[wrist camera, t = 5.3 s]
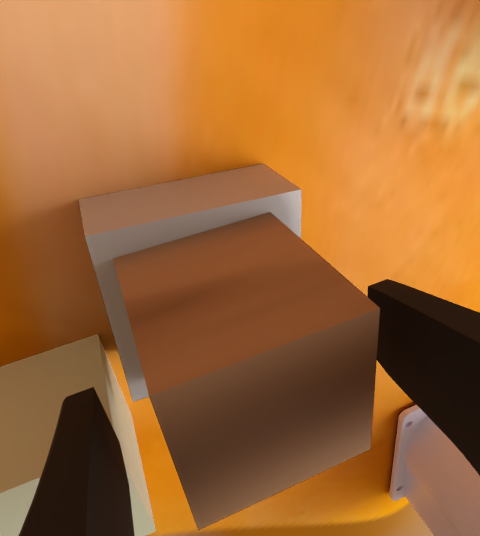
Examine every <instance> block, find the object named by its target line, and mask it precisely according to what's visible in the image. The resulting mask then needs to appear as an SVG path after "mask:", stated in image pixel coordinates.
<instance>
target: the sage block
mask: <svg viewBox="0 0 480 536" xmlns="http://www.w3.org/2000/svg"><path fill="white" fill-rule="evenodd" d="M92 387H94V389H95V391H96V393H97V395H98V397H99V399H100V401H101V404H102V406H103V408H104V410H105V412H106V414H107V416H108V418H109V421H110V423H111V425H112V427H113V429H114V431H115V433H116V436H117V438H118V440H119V442H120V446H121V450H122V455H123V459H124V464H125V468H126V473H127V478H128V482H129V489H130V498H131V507H132V516H133V525H134V535H135V536H146V535H149V534H151V533H153V532H155V531H156V528H155V523H154V519H153V514H152V509H151V504H150V500H149V495H148V490H147V485H146V481H145V476H144V471H143V466H142V462H141V457H140V452H139V447H138V443H137V438H136V433H135V428H134V424H133V419H132V414H131V412H130V410H129V407H128V405H127V402H126V400H125V398H124V395H123V393H122V390H121V388H120V386H119V383H118V381H117V378H116V376H115V374H114V371H113V369H112V367H111V364H110V362H109V359H108V357H107V355H106V352H105V350H104V347H103V345H102V343H101V340H100V338H99V335H98V334H95V335H92V336H90V337H87V338H84V339H81V340H78V341H75V342H72V343H69V344H66V345H63V346H60V347H57V348H54V349H51V350H48V351H45V352H42V353H39V354H36V355H33V356H30V357H27V358H24V359H21V360H18V361H15V362H12V363H9V364H6V365H3V366H0V536H19V534H20V531H21V529H22V526H23V523H24V521H25V518H26V516H27V513H28V511H29V508H30V506H31V503H32V500H33V498H34V495H35V492H36V489H37V486H38V483H39V480H40V477H41V474H42V471H43V469H44V466H45V463H46V460H47V457H48V453H49V450H50V447H51V443H52V440H53V437H54V433H55V430H56V426H57V422H58V418H59V415H60V411H61V406H62V402H63V401H64V399H65V398H66V397H67V396H70V395H73V394H75V393H78V392H81V391H83V390H86V389H89V388H92Z"/></svg>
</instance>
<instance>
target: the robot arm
mask: <svg viewBox="0 0 480 536" xmlns="http://www.w3.org/2000/svg"><path fill="white" fill-rule="evenodd" d="M368 298H369V299H370V300H371V301H373V302H374V303H375V304H376V305H377V306H378V307H379V308H380V316H379V331H378V345H377V360H378V362H379V363H380V364H381V366H382V367H383V368H384V370H385V371H386V372H387V374H388V375H389V376H390V377H391V378H392V379H393V380H394V381H395V382H396V383H397V385H398V386H399V387H400V388H401V389H402V390H403V391H404V392H405V393H406V394H407V395H408V396H409V397H410V398H411V399H412V400H413V402H414V403H415V404H416V405H414V406H412V407H410V408H408V409H406V410H404V411H403V412H401V414H400V415H399V420H398V428H397V436H396V444H395V452H394V460H393V469H392V477H391V485H390V493H389V496H390V497H391V499H392V500H393V501H396V500H398V499H400V498H402V497H404V496H405V497H406V498H407V500H408V501H409V502H410V504H411V505H412V506H413V508H414V509H415V510H416V512H417V513H418V514H419V516H420V517H421V518H422V520H423V521H424V522H425V524H426V525H427V526H428V528H429V529H430V530H431V532H432V533H433V534H434V536H480V313H479V312H476V311H473V310H471V309H468V308H465V307H462V306H460V305H457V304H454V303H452V302H449V301H446V300H444V299H441V298H438V297H436V296H433V295H430V294H428V293H425V292H423V291H420V290H417V289H415V288H412V287H409V286H406V285H404V284H401V283H398V282H395V281H392V280H389V279H387V280H384V281H381V282H378V283H376V284H373V285H370V286H368ZM19 536H135V535H134V525H133V516H132V507H131V498H130V489H129V482H128V478H127V473H126V468H125V464H124V459H123V455H122V450H121V446H120V442H119V440H118V438H117V436H116V433H115V431H114V429H113V427H112V425H111V423H110V421H109V418H108V416H107V414H106V412H105V410H104V408H103V406H102V404H101V401H100V399H99V397H98V395H97V393H96V391H95V389H94V387H92V388H89V389H86V390H83V391H81V392H78V393H75V394H73V395H70V396H67V397H66V398H65V399H64V401H63V402H62V406H61V411H60V415H59V418H58V422H57V426H56V430H55V433H54V437H53V440H52V443H51V447H50V450H49V453H48V457H47V460H46V463H45V466H44V469H43V471H42V474H41V477H40V480H39V483H38V486H37V489H36V492H35V495H34V498H33V500H32V503H31V506H30V508H29V511H28V513H27V516H26V518H25V521H24V523H23V526H22V529H21V531H20V534H19Z"/></svg>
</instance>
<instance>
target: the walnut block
mask: <svg viewBox="0 0 480 536" xmlns="http://www.w3.org/2000/svg"><path fill="white" fill-rule="evenodd" d="M113 261H114V264H115V268H116V272H117V276H118V280H119V283H120V287H121V291H122V295H123V299H124V302H125V306H126V310H127V314H128V318H129V321H130V325H131V329H132V333H133V337H134V340H135V344H136V348H137V352H138V356H139V359H140V363H141V367H142V371H143V375H144V378H145V382H146V386H147V390H148V394H149V397H150V400H151V402H152V405H153V408H154V411H155V413H156V416H157V419H158V421H159V424H160V427H161V430H162V432H163V435H164V438H165V441H166V443H167V446H168V449H169V451H170V454H171V457H172V460H173V462H174V465H175V468H176V470H177V473H178V476H179V479H180V481H181V484H182V487H183V490H184V492H185V495H186V498H187V500H188V503H189V506H190V509H191V511H192V514H193V517H194V520H195V522H196V525H197V528H198V530H200V529H202V528H205V527H207V526H209V525H211V524H213V523H215V522H217V521H219V520H222V519H224V518H226V517H228V516H230V515H232V514H234V513H236V512H239V511H241V510H243V509H245V508H247V507H249V506H251V505H253V504H255V503H258V502H260V501H262V500H264V499H266V498H268V497H270V496H272V495H275V494H277V493H279V492H281V491H283V490H285V489H287V488H289V487H292V486H294V485H296V484H298V483H300V482H302V481H304V480H306V479H309V478H311V477H313V476H315V475H317V474H319V473H321V472H323V471H325V470H328V469H330V468H332V467H334V466H336V465H338V464H340V463H342V462H345V461H347V460H349V459H351V458H353V457H355V456H357V455H359V454H362V453H364V452H366V451H368V450H370V449H371V435H372V420H373V405H374V390H375V375H376V360H377V345H378V331H379V316H380V308H379V307H378V306H377V305H376V304H375V303H374V302H373V301H371V300H370V299H369V298H368V297H367V296H366V295H365V294H363V293H362V292H361V291H360V290H359V289H358V288H357V287H355V286H354V285H353V284H352V283H351V282H350V281H349V280H347V279H346V278H345V277H344V276H343V275H342V274H341V273H339V272H338V271H337V270H336V269H335V268H334V267H333V266H331V265H330V264H329V263H328V262H327V261H326V260H325V259H323V258H322V257H321V256H320V255H319V254H318V253H317V252H315V251H314V250H313V249H312V248H311V247H310V246H309V245H307V244H306V243H305V242H304V241H303V240H302V239H301V238H299V237H298V236H297V235H296V234H295V233H294V232H293V231H291V230H290V229H289V228H288V227H287V226H286V225H285V224H283V223H282V222H281V221H280V220H279V219H278V218H277V217H275V216H274V215H273V214H272V213H271V212H268V213H265V214H261V215H258V216H255V217H251V218H248V219H245V220H241V221H238V222H234V223H231V224H228V225H224V226H221V227H217V228H214V229H211V230H207V231H204V232H201V233H197V234H194V235H190V236H187V237H184V238H180V239H177V240H174V241H170V242H167V243H163V244H160V245H157V246H153V247H150V248H146V249H143V250H140V251H136V252H133V253H130V254H126V255H123V256H119V257H116V258H113Z"/></svg>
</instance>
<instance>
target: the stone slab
mask: <svg viewBox="0 0 480 536" xmlns="http://www.w3.org/2000/svg"><path fill="white" fill-rule="evenodd" d="M78 200H79V206H80V212H81V218H82V224H83V230H84V236H85V239H86V243H87V246H88V250H89V253H90V257H91V260H92V263H93V267H94V270H95V274H96V277H97V280H98V284H99V287H100V291H101V294H102V298H103V301H104V304H105V308H106V311H107V315H108V318H109V321H110V325H111V328H112V332H113V335H114V339H115V342H116V345H117V349H118V352H119V356H120V359H121V363H122V366H123V369H124V373H125V376H126V380H127V383H128V386H129V390H130V393H131V397H132V400H133V402H134V401H137V400H140V399H143V398H146V397H149V394H148V390H147V386H146V382H145V378H144V375H143V371H142V367H141V363H140V359H139V356H138V352H137V348H136V344H135V340H134V337H133V333H132V329H131V325H130V321H129V318H128V314H127V310H126V306H125V302H124V299H123V295H122V291H121V287H120V283H119V280H118V276H117V272H116V268H115V264H114V261H113V258H116V257H119V256H123V255H126V254H130V253H133V252H136V251H140V250H143V249H146V248H150V247H153V246H157V245H160V244H163V243H167V242H170V241H174V240H177V239H180V238H184V237H187V236H190V235H194V234H197V233H201V232H204V231H207V230H211V229H214V228H217V227H221V226H224V225H228V224H231V223H234V222H238V221H241V220H245V219H248V218H251V217H255V216H258V215H261V214H265V213H268V212H271V213H272V214H273V215H274V216H275V217H277V218H278V219H279V220H280V221H281V222H282V223H283V224H285V225H286V226H287V227H288V228H289V229H290V230H291V231H293V232H294V233H295V234H296V235H297V236H298V237H299V238H301V189H300V188H299V187H297V186H296V185H294V184H293V183H291V182H290V181H288V180H287V179H285V178H284V177H283V176H281V175H280V174H278V173H277V172H275V171H274V170H272V169H271V168H269V167H268V166H266V165H265V164H259V165H254V166H249V167H243V168H238V169H233V170H228V171H223V172H217V173H212V174H207V175H202V176H197V177H192V178H186V179H181V180H176V181H171V182H166V183H160V184H155V185H150V186H145V187H140V188H135V189H129V190H124V191H119V192H114V193H109V194H103V195H98V196H93V197H88V198H83V199H78Z"/></svg>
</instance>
